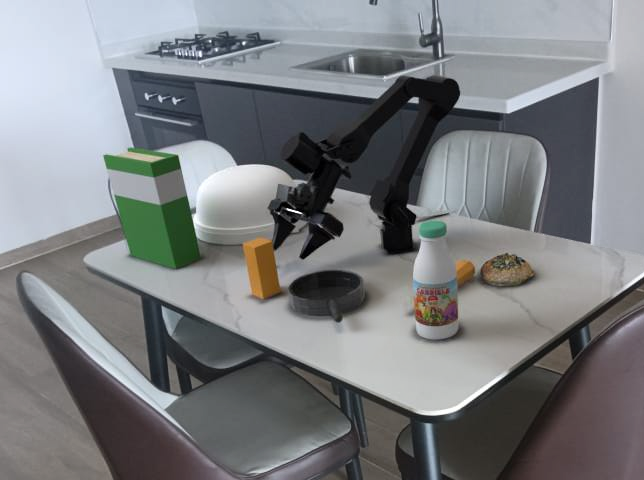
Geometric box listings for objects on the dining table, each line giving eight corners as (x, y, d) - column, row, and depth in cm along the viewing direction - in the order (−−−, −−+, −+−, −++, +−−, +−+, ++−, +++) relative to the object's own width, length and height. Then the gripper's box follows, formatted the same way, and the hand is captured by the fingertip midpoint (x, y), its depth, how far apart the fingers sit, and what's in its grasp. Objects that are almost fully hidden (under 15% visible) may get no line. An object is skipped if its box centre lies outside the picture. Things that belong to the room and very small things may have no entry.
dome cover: (167, 233, 190) (154, 179, 183) (248, 199, 211) (239, 149, 203) (256, 252, 174) (246, 193, 167) (335, 213, 194) (329, 159, 187)
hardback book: (130, 255, 179) (103, 155, 166) (155, 245, 183) (130, 147, 171) (176, 268, 169) (150, 163, 156) (201, 258, 174) (178, 154, 161)
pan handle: (327, 305, 141) (326, 298, 140) (336, 304, 141) (335, 296, 140) (335, 324, 134) (334, 316, 133) (343, 323, 134) (342, 315, 133)
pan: (357, 282, 155) (355, 265, 153) (371, 310, 142) (369, 293, 140) (287, 293, 152) (285, 276, 150) (295, 323, 140) (293, 305, 138)
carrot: (465, 278, 154) (456, 258, 152) (481, 274, 151) (473, 254, 149) (408, 324, 142) (398, 303, 141) (425, 321, 139) (415, 300, 137)
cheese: (269, 289, 155) (260, 237, 149) (281, 293, 152) (272, 241, 146) (252, 296, 152) (242, 243, 146) (263, 301, 150) (254, 247, 144)
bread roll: (489, 262, 158) (492, 240, 155) (539, 274, 154) (543, 252, 151) (470, 284, 150) (473, 262, 147) (522, 298, 146) (526, 275, 143)
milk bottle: (413, 323, 136) (407, 219, 126) (455, 319, 137) (451, 214, 126) (418, 342, 130) (412, 234, 119) (461, 338, 130) (459, 229, 120)
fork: (460, 211, 188) (460, 204, 187) (379, 234, 178) (378, 227, 177) (453, 208, 191) (452, 201, 190) (372, 231, 181) (371, 224, 180)
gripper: (267, 160, 153) (233, 227, 152) (325, 173, 141) (289, 245, 140) (301, 187, 161) (270, 251, 161) (359, 202, 150) (325, 270, 149)
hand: (287, 254), depth 153 cm, fingers open, 9 cm apart
